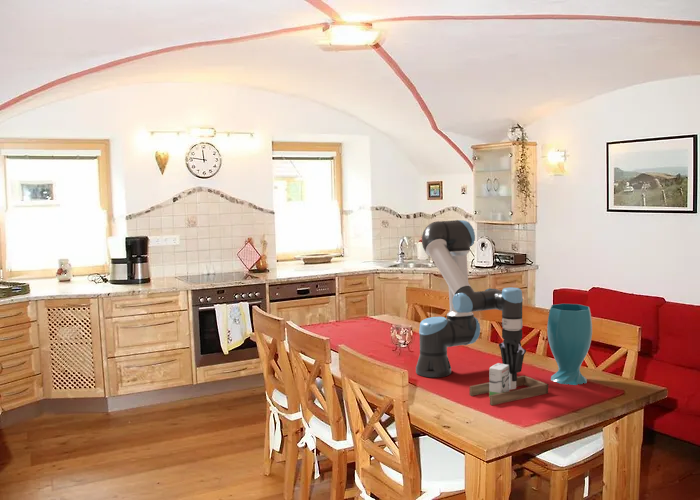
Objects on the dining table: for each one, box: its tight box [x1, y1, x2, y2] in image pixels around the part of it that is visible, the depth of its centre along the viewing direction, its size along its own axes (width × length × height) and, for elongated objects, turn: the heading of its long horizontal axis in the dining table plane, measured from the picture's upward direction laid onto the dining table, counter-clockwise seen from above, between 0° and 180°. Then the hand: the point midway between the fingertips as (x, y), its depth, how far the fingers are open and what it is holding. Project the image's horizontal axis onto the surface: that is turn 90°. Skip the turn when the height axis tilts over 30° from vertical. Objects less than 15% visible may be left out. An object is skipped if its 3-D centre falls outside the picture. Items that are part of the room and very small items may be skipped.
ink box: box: [488, 362, 510, 399], centre depth 252 cm, size 9×5×12 cm, turn 144°
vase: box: [546, 303, 593, 386], centre depth 269 cm, size 17×17×30 cm
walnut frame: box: [469, 375, 549, 406], centre depth 254 cm, size 13×27×4 cm, turn 117°
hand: (512, 388), depth 255 cm, fingers closed
